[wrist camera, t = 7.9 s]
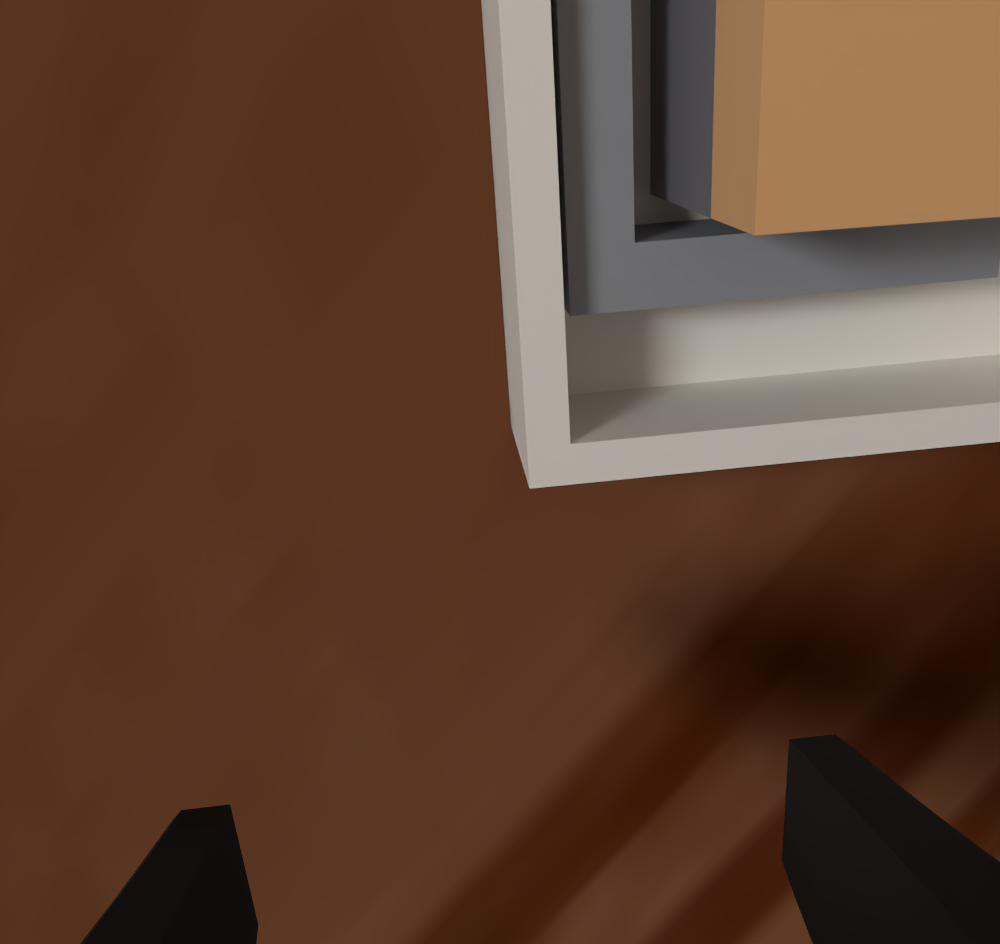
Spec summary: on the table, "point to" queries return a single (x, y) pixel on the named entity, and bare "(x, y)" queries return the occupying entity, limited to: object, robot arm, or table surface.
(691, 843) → the table surface
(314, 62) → the table surface
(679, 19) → the block
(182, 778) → the table surface
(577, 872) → the table surface
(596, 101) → the walled box
